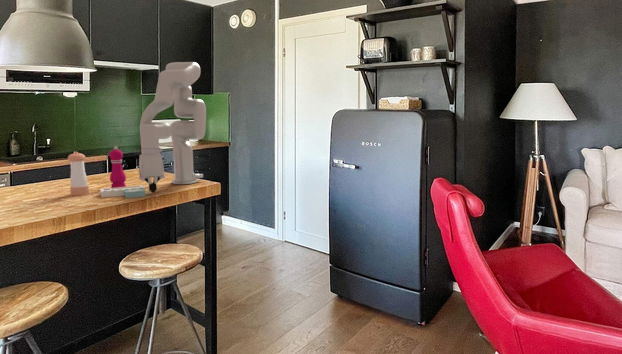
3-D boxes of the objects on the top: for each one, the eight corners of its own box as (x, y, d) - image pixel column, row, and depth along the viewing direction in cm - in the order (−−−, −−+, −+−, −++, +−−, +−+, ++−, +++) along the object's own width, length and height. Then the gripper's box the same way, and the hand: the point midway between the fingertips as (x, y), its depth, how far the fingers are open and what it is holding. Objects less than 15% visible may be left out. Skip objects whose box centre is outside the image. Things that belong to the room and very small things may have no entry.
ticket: (142, 190, 207) (142, 185, 206) (145, 193, 201) (144, 187, 200) (100, 194, 198) (100, 188, 197) (101, 197, 192) (101, 191, 191)
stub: (143, 193, 199) (142, 188, 199) (145, 196, 194) (145, 190, 194) (124, 195, 195) (123, 189, 195) (126, 198, 190) (125, 192, 190)
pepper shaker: (76, 196, 194) (72, 153, 191) (67, 194, 198) (63, 152, 195) (92, 193, 200) (88, 151, 197) (83, 191, 204) (79, 150, 201)
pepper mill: (120, 189, 210) (117, 147, 207) (107, 188, 211) (103, 146, 208) (129, 186, 217) (126, 145, 214) (116, 185, 218) (113, 145, 215)
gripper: (166, 149, 202) (168, 189, 205) (131, 151, 195) (134, 192, 198) (169, 151, 196) (171, 192, 199) (133, 153, 188) (136, 195, 192)
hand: (153, 192), depth 198 cm, fingers closed
